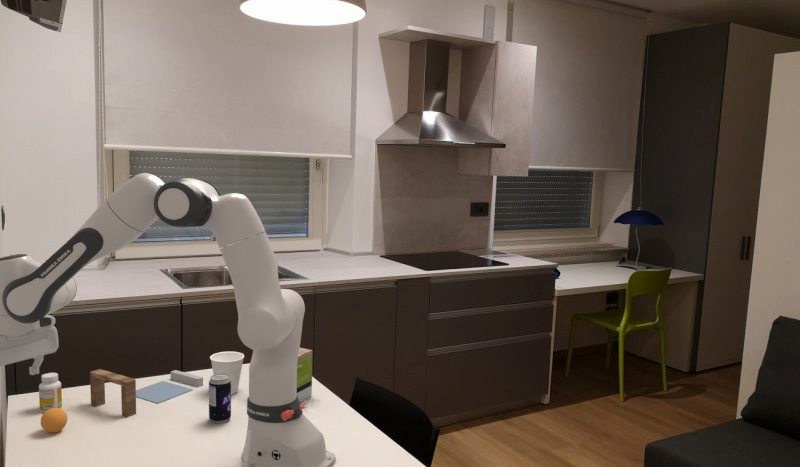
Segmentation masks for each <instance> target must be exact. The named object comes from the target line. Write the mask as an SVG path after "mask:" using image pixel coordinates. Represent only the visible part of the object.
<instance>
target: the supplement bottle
mask: <svg viewBox="0 0 800 467" xmlns="http://www.w3.org/2000/svg"><path fill="white" fill-rule="evenodd" d="M40 380H41V383H39V385H38V393H39V395H38V398H39V411H40V412H41V413H45V412H46V411H47V410H49V409H51V408H60V409H62V408H63V400H62V399H63V397H62V396H63V395H62V394H63V393H62V391H63V390H62V382H61V381H60V380H59V374H58V373H57V372H48V373H44V374H41V379H40Z"/></svg>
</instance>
